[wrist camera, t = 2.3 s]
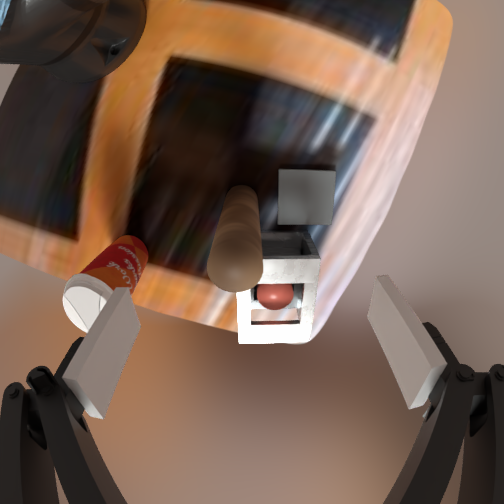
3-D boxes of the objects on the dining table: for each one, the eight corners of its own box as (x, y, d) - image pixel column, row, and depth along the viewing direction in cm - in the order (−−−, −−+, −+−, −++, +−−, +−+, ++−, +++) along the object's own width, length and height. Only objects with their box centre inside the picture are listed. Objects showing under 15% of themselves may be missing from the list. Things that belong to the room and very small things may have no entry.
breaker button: (289, 295, 39) (292, 309, 36) (256, 296, 39) (257, 310, 36) (291, 267, 37) (294, 279, 34) (256, 267, 37) (257, 280, 34)
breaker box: (300, 304, 43) (309, 341, 36) (240, 305, 43) (239, 343, 36) (307, 230, 38) (320, 258, 31) (238, 230, 38) (235, 259, 31)
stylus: (226, 215, 37) (209, 292, 22) (224, 185, 35) (204, 243, 20) (257, 215, 37) (263, 292, 22) (257, 184, 35) (263, 243, 20)
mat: (277, 222, 37) (277, 224, 37) (278, 168, 34) (279, 169, 34) (330, 223, 37) (331, 224, 37) (334, 170, 34) (335, 171, 34)
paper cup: (160, 275, 41) (129, 341, 28) (114, 276, 41) (74, 337, 28) (149, 224, 37) (106, 279, 25) (101, 228, 37) (48, 280, 25)
